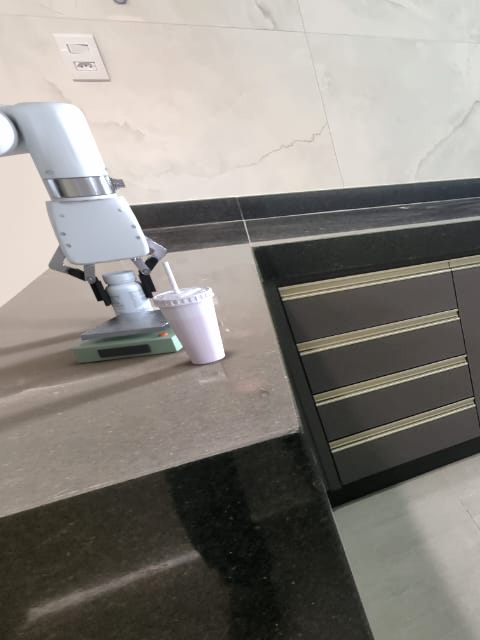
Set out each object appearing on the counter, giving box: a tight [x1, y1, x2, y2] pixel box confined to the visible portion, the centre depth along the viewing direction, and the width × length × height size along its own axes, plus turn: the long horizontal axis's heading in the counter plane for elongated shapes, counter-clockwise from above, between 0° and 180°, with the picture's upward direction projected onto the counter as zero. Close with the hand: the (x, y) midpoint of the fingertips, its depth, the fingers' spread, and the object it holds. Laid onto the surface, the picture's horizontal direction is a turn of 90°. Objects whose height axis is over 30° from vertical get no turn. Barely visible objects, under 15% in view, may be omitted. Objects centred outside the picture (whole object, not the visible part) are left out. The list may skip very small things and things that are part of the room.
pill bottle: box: [101, 269, 154, 317], centre depth 90 cm, size 5×5×8 cm
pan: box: [79, 309, 170, 341], centre depth 80 cm, size 10×10×1 cm
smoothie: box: [151, 261, 226, 365], centre depth 72 cm, size 6×6×14 cm
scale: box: [71, 327, 184, 364], centre depth 81 cm, size 12×12×2 cm
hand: (129, 299), depth 90 cm, fingers closed on pill bottle, 4 cm apart
